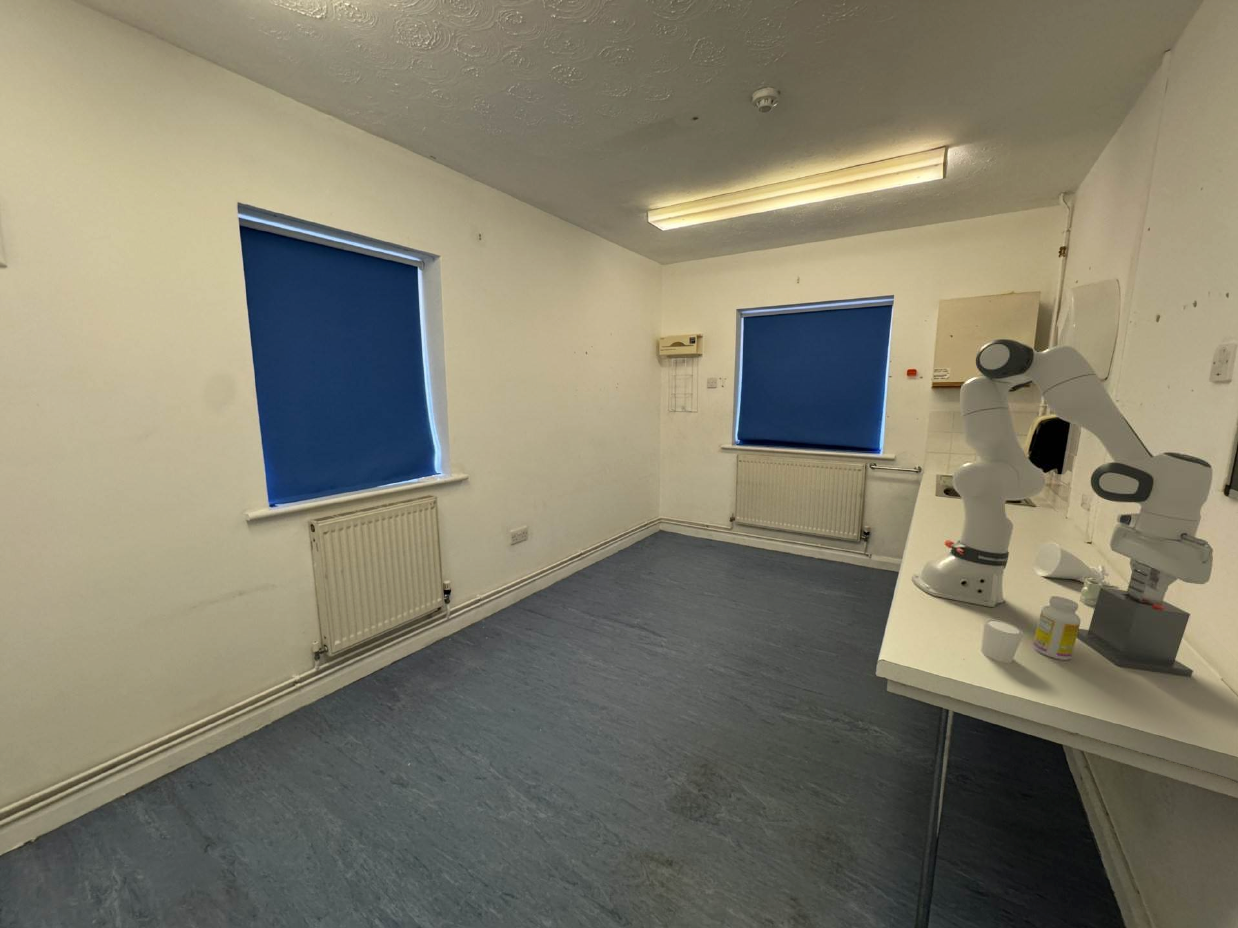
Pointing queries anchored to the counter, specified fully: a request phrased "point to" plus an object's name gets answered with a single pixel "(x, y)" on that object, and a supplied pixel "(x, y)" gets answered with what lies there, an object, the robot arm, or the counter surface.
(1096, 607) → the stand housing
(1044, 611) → the supplement bottle
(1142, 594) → the column
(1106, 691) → the counter surface
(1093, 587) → the valve
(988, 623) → the white cup
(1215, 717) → the counter surface
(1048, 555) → the rocket engine
